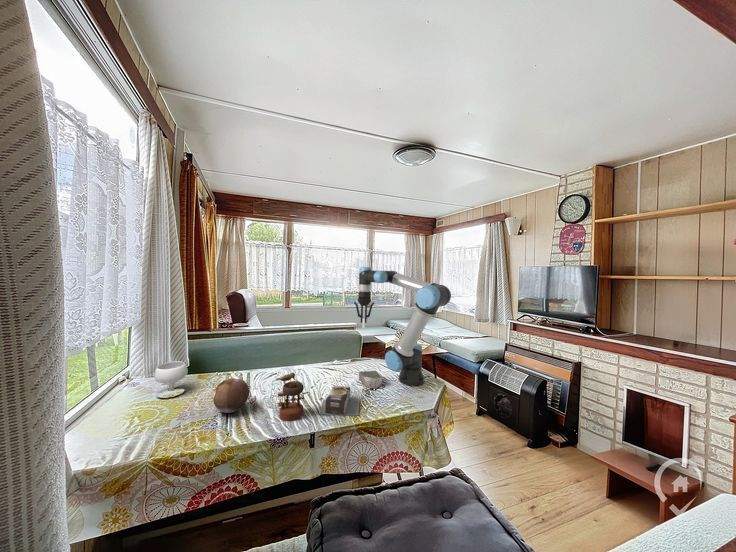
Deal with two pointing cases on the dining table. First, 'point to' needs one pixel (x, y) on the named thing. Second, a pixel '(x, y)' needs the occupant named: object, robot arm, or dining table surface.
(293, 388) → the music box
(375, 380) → the geological specimen
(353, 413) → the rubber mat
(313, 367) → the dining table surface
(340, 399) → the coffee box
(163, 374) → the chalice
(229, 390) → the wooden sphere
